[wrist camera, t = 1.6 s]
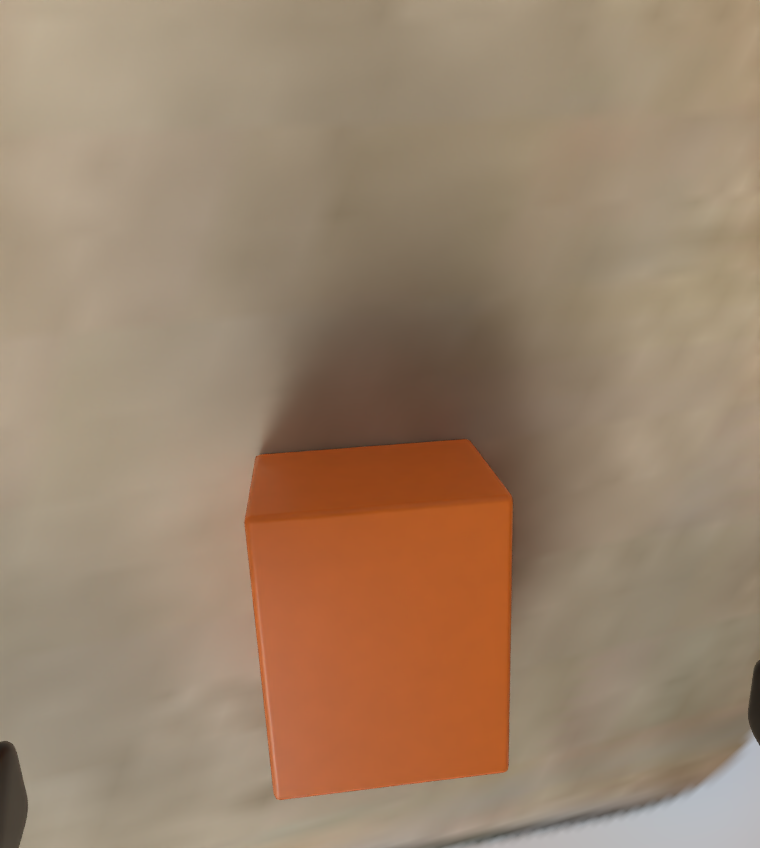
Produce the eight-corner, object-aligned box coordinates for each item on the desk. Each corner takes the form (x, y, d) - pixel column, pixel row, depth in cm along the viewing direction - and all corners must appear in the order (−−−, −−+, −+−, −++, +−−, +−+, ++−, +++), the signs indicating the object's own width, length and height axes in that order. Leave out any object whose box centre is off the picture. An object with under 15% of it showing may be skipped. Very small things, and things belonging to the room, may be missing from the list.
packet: (470, 669, 13) (510, 774, 10) (278, 690, 12) (273, 803, 10) (470, 436, 11) (515, 495, 9) (255, 453, 11) (242, 518, 9)
